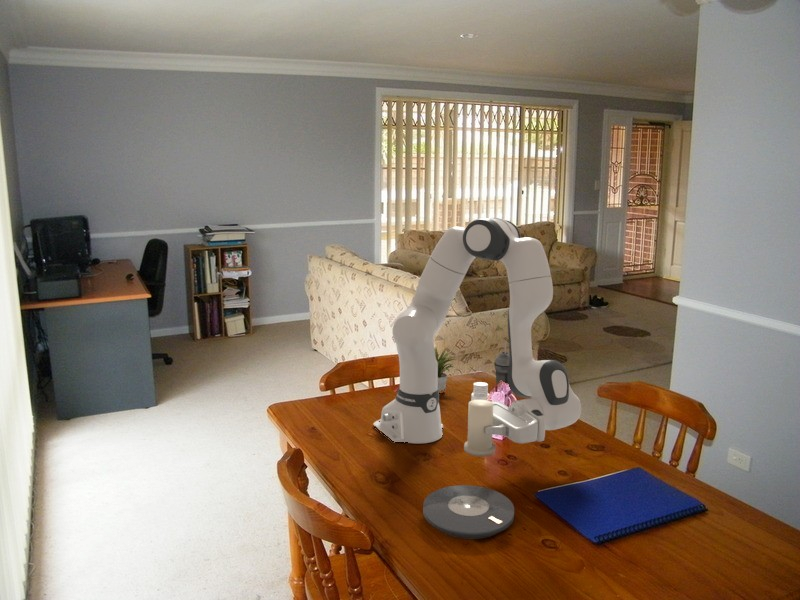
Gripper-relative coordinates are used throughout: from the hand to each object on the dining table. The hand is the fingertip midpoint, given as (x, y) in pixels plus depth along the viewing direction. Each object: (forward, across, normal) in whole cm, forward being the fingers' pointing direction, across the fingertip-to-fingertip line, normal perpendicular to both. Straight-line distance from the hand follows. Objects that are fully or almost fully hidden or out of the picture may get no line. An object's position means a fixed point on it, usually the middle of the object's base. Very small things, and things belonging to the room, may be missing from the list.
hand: (477, 425), depth 158 cm
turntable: (+11, +15, +13) cm, 22 cm away
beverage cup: (-44, -53, +15) cm, 70 cm away
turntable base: (+11, +15, +15) cm, 24 cm away
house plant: (-24, -65, +16) cm, 71 cm away
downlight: (-27, -41, +16) cm, 52 cm away
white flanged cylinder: (-1, 0, +7) cm, 7 cm away
